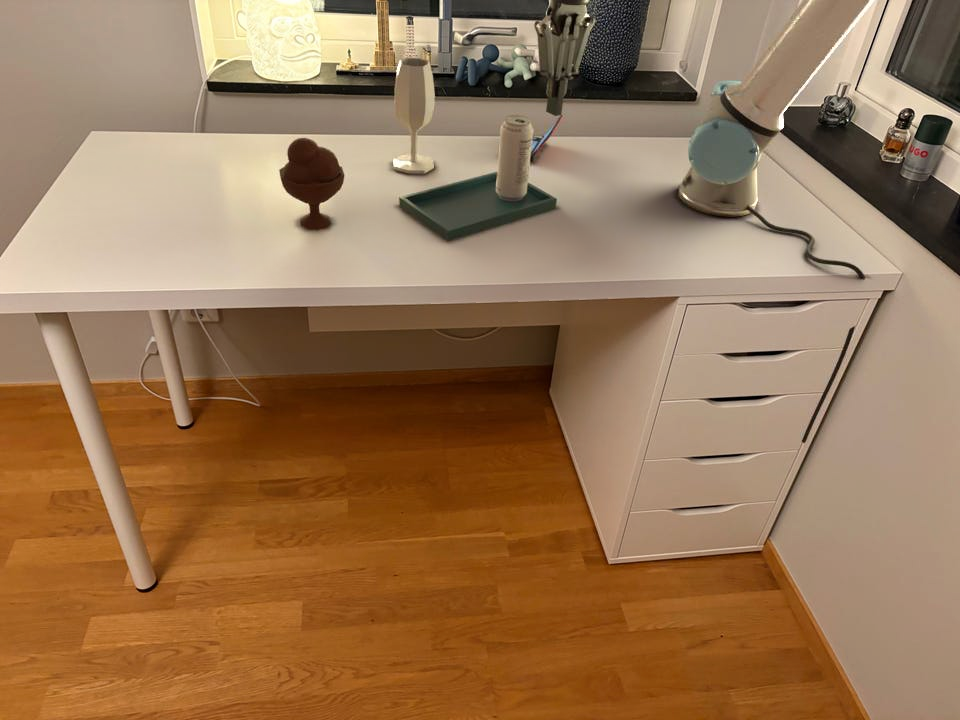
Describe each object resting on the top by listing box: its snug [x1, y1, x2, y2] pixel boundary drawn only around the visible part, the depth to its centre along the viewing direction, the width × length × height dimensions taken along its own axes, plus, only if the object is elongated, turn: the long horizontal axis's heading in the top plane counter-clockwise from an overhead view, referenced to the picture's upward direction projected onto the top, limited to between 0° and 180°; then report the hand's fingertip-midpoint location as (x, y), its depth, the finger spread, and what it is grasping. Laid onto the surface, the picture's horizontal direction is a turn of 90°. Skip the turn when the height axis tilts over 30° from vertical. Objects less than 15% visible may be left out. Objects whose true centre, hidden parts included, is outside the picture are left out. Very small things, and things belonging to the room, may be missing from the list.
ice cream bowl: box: [278, 137, 345, 231], centre depth 130 cm, size 11×11×15 cm
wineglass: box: [392, 56, 436, 175], centre depth 151 cm, size 9×9×21 cm
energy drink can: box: [496, 114, 534, 201], centre depth 143 cm, size 6×6×15 cm
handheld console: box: [530, 114, 563, 163], centre depth 165 cm, size 12×11×7 cm
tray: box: [398, 171, 558, 242], centre depth 143 cm, size 16×26×2 cm, turn 128°
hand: (553, 113), depth 143 cm, fingers closed
